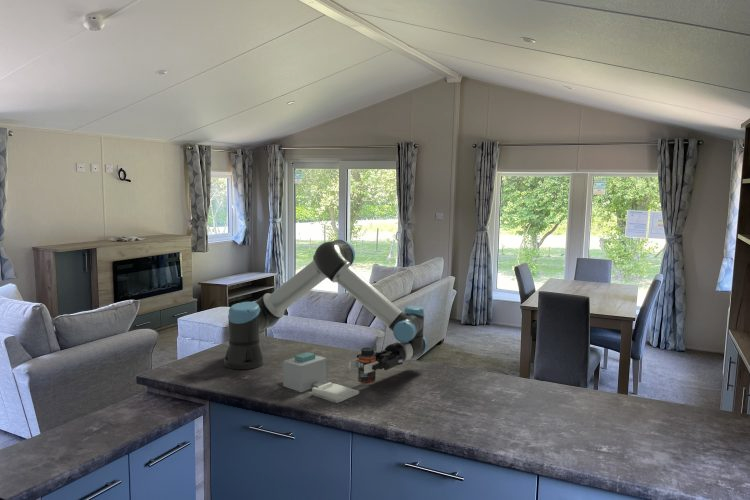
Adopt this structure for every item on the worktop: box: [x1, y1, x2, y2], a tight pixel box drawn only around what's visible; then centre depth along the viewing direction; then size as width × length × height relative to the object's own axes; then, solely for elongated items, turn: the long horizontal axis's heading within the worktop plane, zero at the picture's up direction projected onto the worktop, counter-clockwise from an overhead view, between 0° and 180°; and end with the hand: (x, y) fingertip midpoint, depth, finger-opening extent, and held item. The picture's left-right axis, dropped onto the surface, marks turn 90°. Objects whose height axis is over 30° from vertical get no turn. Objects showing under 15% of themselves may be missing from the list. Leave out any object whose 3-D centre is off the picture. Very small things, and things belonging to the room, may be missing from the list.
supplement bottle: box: [357, 346, 377, 384], centre depth 182 cm, size 6×6×11 cm
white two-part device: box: [282, 351, 360, 404], centre depth 183 cm, size 28×12×11 cm, turn 52°
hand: (357, 367), depth 178 cm, fingers closed on supplement bottle, 6 cm apart
